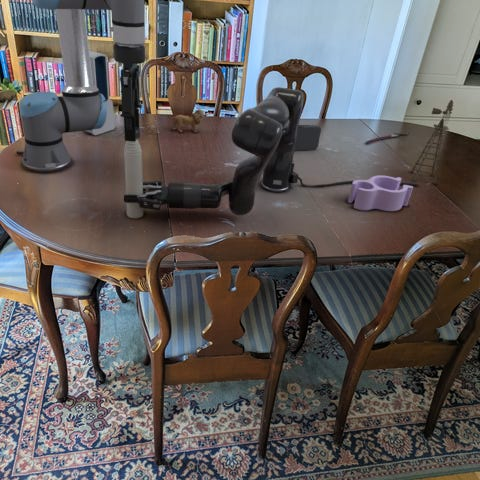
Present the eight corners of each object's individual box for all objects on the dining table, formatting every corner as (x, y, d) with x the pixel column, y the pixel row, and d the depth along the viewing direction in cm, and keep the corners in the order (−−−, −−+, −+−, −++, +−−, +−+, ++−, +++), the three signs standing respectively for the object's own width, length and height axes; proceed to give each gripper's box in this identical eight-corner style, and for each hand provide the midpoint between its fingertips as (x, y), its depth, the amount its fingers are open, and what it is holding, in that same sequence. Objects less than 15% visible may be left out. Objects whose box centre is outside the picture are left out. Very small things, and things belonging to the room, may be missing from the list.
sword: (404, 132, 223) (404, 129, 222) (409, 134, 221) (409, 132, 220) (360, 143, 207) (361, 141, 206) (365, 146, 205) (366, 143, 204)
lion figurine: (201, 127, 203) (202, 107, 198) (204, 132, 199) (205, 111, 194) (168, 129, 198) (168, 108, 193) (170, 133, 194) (171, 112, 189)
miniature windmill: (435, 184, 175) (463, 105, 159) (412, 180, 176) (438, 101, 160) (432, 174, 182) (458, 98, 166) (410, 171, 183) (434, 94, 167)
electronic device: (93, 136, 184) (86, 56, 167) (80, 131, 187) (72, 52, 170) (116, 128, 193) (112, 52, 177) (103, 124, 196) (97, 48, 180)
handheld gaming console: (315, 147, 196) (319, 124, 190) (317, 149, 194) (322, 126, 188) (264, 149, 189) (267, 125, 183) (266, 152, 187) (269, 127, 181)
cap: (129, 140, 122) (129, 132, 121) (122, 135, 124) (121, 127, 123) (142, 137, 124) (142, 130, 123) (135, 133, 127) (134, 125, 125)
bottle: (146, 212, 139) (144, 130, 125) (138, 219, 135) (136, 135, 121) (131, 208, 140) (128, 126, 126) (123, 216, 136) (119, 132, 122)
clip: (360, 214, 150) (365, 195, 146) (341, 196, 159) (346, 177, 156) (412, 209, 156) (418, 190, 152) (390, 192, 166) (396, 174, 162)
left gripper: (120, 35, 119) (124, 123, 132) (104, 50, 104) (110, 148, 116) (150, 38, 120) (151, 125, 132) (138, 53, 104) (141, 150, 117)
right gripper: (184, 173, 140) (126, 171, 137) (185, 195, 128) (121, 194, 125) (184, 195, 144) (127, 194, 141) (184, 219, 132) (122, 218, 129)
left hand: (132, 136), depth 124 cm, fingers open, 5 cm apart
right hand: (125, 194), depth 133 cm, fingers closed on bottle, 5 cm apart
